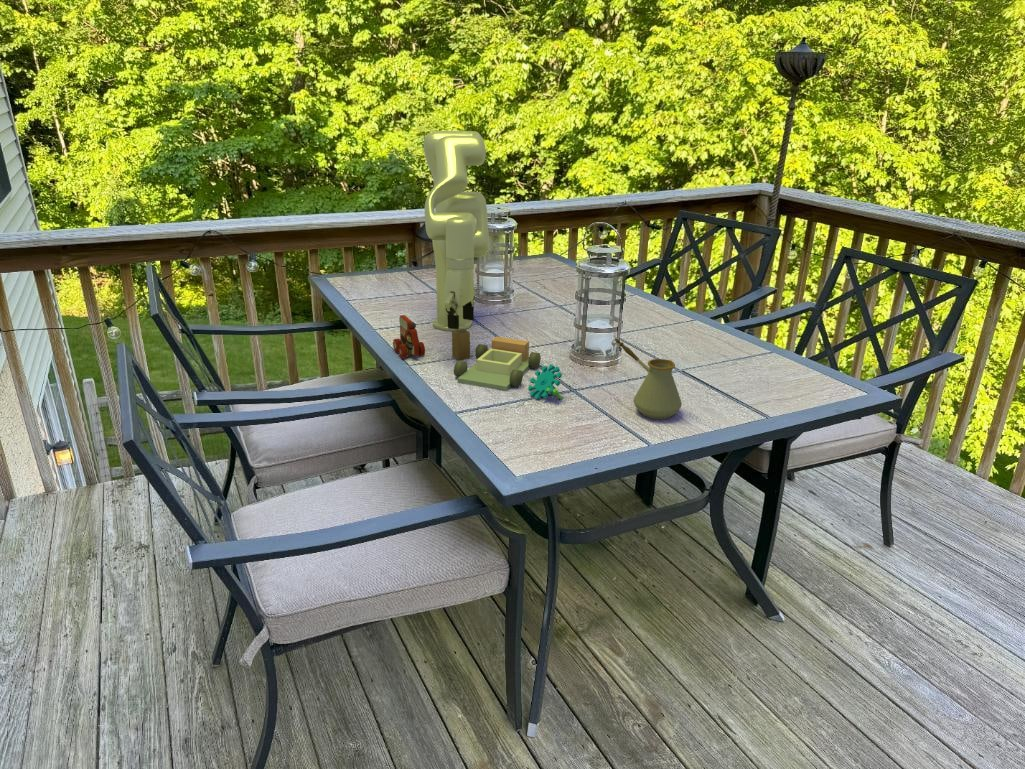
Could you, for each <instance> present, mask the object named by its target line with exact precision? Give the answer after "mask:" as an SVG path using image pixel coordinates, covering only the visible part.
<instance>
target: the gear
mask: <svg viewBox="0 0 1025 769" xmlns="http://www.w3.org/2000/svg"><path fill="white" fill-rule="evenodd" d="M534 375H535V376H536V379H535V378H534V377H532V376H531V378H530V380H529V382H530V383H531V384H529V385H528V387H527V390H528V391H530V392H529V395H530V396H531V397H532V398H535V399H536V400H541V397H542V398H543V399H547V398H549V394H551V395H552V396H553V397H554V398H557V399H558V400H560V401H562V400H564V398H563V397H562V395H560V391H559V390H558V389H557V388H556V387H559V386H560V385H561V381H560V380H559V379H562V377H563V373H562V372H561V369H560V367H559V366H557V365H556V366H555V365H554V364H552V363H550V364H549V365H548V366H546V365H543V366H542V367H541V371H540V370H536V371H535V372H534ZM556 378H558V379H556ZM532 384H534V385H532ZM554 385H555V386H556V387H555V386H554Z"/></svg>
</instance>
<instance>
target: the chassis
mask: <svg viewBox="0 0 1025 769" xmlns="http://www.w3.org/2000/svg"><path fill="white" fill-rule="evenodd" d="M529 353H530V354H529ZM475 359H476V363H474V364H473V365H472V366H471V367H469V369H468V362H467V361H465V360H457V361H455V362H454V363H455V364H454V365H453V375H454V377H457V383H458V384H465V385H471V386H475V385H476V387H480V388H481V387H482V388H487V389H494V390H498V389H499V390H500V391H504V392H508V391H509V390H510V388H511V387H515V388H520V387H521V386H522V383H523V376H524V375H525V374H526V373H527V372H528V371H529V370H530V369H535V370H537V369H538V368H539V367H540V365H541V364H540V363H541V359H542V358H541V353H540V352H535V351H531V352H530V341H529V340H522V339H515V338H509V337H503V336H497V335H496V336H495V337H494V338H492V339H491V348H488V345H487V344H482V343H478V344H477V345H476V347H475ZM529 368H530V369H529ZM528 369H529V370H528ZM527 370H528V371H527ZM526 371H527V372H526ZM519 386H520V387H519Z"/></svg>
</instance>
